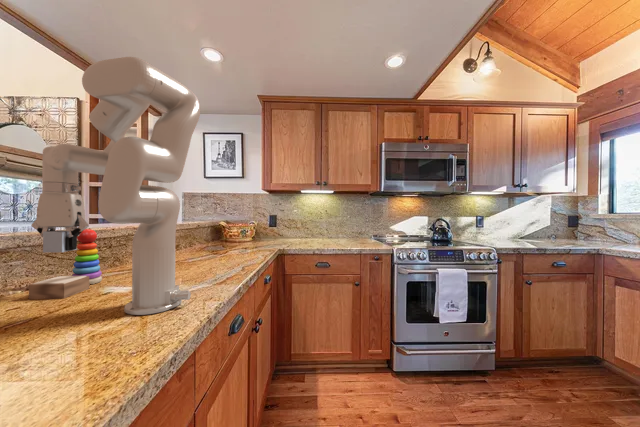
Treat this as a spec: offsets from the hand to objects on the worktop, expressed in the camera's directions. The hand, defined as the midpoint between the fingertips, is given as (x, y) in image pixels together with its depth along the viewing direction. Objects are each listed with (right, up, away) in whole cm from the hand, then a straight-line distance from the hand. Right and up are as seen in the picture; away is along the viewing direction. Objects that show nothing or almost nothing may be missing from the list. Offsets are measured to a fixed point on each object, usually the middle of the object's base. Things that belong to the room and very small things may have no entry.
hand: (60, 249), depth 76 cm
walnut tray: (0, -13, 0) cm, 13 cm away
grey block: (0, -1, 0) cm, 1 cm away
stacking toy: (-2, -13, +11) cm, 17 cm away
